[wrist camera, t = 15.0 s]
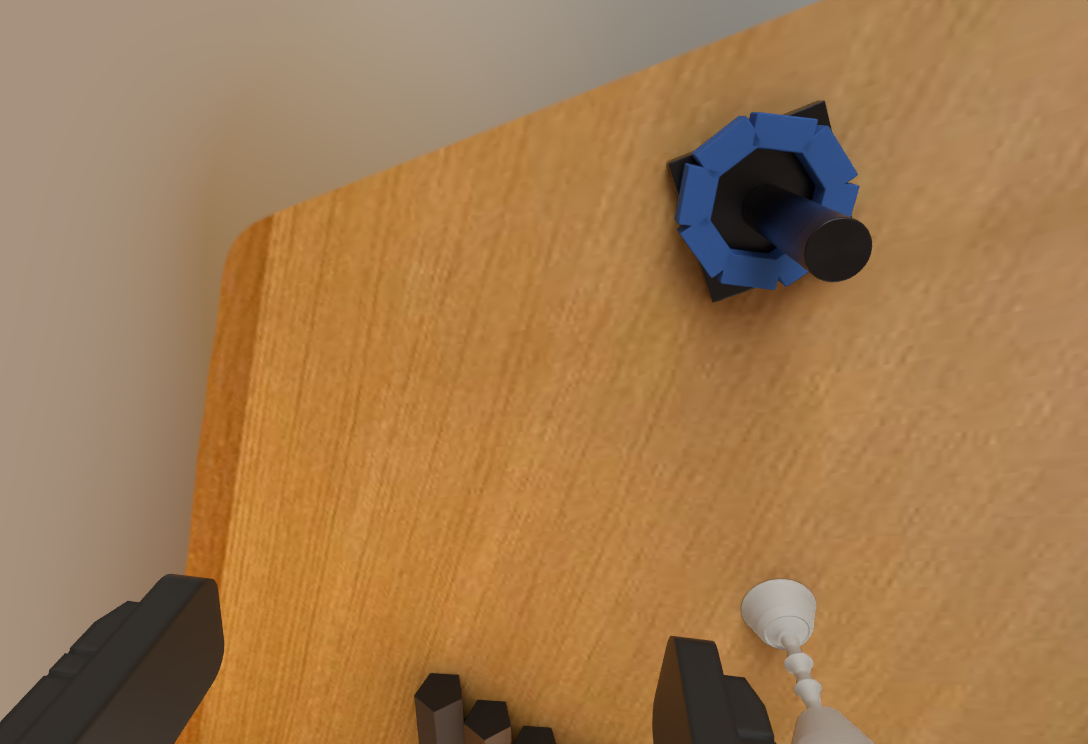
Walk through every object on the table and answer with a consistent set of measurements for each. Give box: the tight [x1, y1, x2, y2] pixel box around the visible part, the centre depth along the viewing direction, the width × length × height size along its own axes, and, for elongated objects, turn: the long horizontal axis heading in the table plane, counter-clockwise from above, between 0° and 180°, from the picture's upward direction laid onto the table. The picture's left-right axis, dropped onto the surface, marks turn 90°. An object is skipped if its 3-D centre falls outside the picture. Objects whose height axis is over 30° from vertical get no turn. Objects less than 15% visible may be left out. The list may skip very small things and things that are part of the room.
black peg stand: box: [667, 101, 872, 302], centre depth 29 cm, size 8×8×12 cm
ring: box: [675, 112, 859, 290], centre depth 33 cm, size 8×8×2 cm
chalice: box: [741, 579, 875, 744], centre depth 36 cm, size 7×7×18 cm
